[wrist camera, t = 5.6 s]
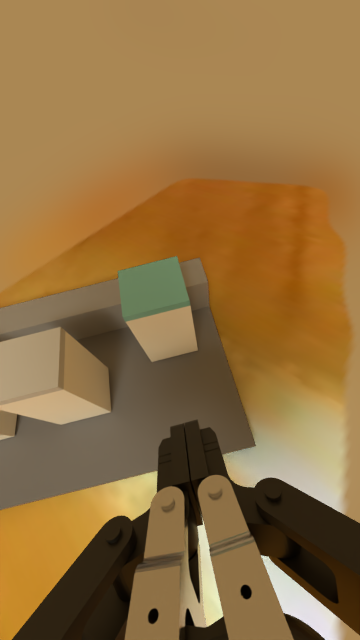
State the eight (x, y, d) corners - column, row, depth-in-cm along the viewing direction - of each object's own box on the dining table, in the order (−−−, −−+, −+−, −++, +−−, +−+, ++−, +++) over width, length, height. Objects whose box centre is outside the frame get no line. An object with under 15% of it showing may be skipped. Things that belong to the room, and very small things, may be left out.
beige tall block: (61, 424, 21) (-18, 405, 14) (62, 379, 23) (-6, 343, 16) (111, 412, 21) (57, 386, 14) (108, 368, 23) (60, 326, 16)
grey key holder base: (-66, 526, 20) (-145, 544, 15) (-23, 346, 28) (-67, 325, 23) (253, 446, 20) (264, 442, 15) (202, 289, 28) (199, 257, 23)
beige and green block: (151, 361, 23) (122, 317, 16) (145, 325, 25) (117, 271, 18) (197, 350, 23) (189, 300, 16) (188, 314, 25) (176, 256, 18)
